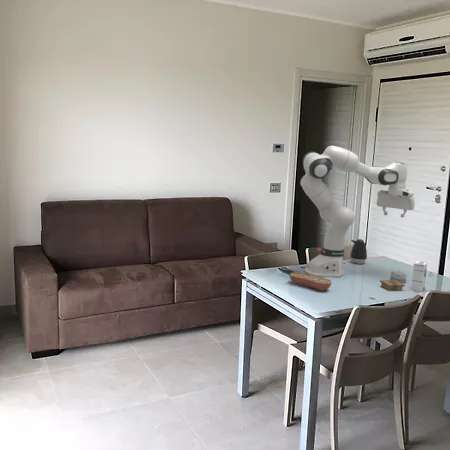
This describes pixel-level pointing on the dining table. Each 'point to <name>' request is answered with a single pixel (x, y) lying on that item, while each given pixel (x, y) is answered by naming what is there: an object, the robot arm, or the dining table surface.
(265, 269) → the dining table surface
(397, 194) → the robot arm
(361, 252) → the black kettle
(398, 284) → the stand
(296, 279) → the bread loaf
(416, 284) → the syrup box
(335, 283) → the dining table surface
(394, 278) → the housing
